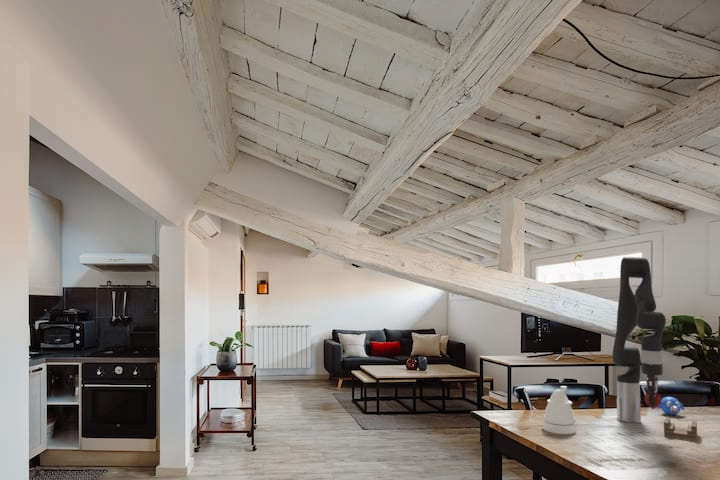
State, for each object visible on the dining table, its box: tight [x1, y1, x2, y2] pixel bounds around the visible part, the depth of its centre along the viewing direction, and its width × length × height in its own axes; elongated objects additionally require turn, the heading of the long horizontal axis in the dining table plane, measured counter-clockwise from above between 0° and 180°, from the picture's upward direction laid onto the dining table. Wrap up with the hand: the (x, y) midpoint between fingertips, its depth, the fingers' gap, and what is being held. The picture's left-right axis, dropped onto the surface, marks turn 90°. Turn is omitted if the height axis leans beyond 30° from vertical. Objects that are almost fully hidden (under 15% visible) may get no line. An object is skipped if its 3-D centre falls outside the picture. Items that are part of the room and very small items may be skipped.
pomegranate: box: [644, 391, 662, 410], centre depth 211 cm, size 6×6×8 cm
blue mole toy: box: [656, 396, 685, 416], centre depth 253 cm, size 12×12×8 cm
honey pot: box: [542, 385, 577, 435], centre depth 222 cm, size 13×13×18 cm
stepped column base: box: [663, 416, 698, 442], centre depth 216 cm, size 12×11×6 cm
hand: (652, 404), depth 210 cm, fingers closed on pomegranate, 6 cm apart
